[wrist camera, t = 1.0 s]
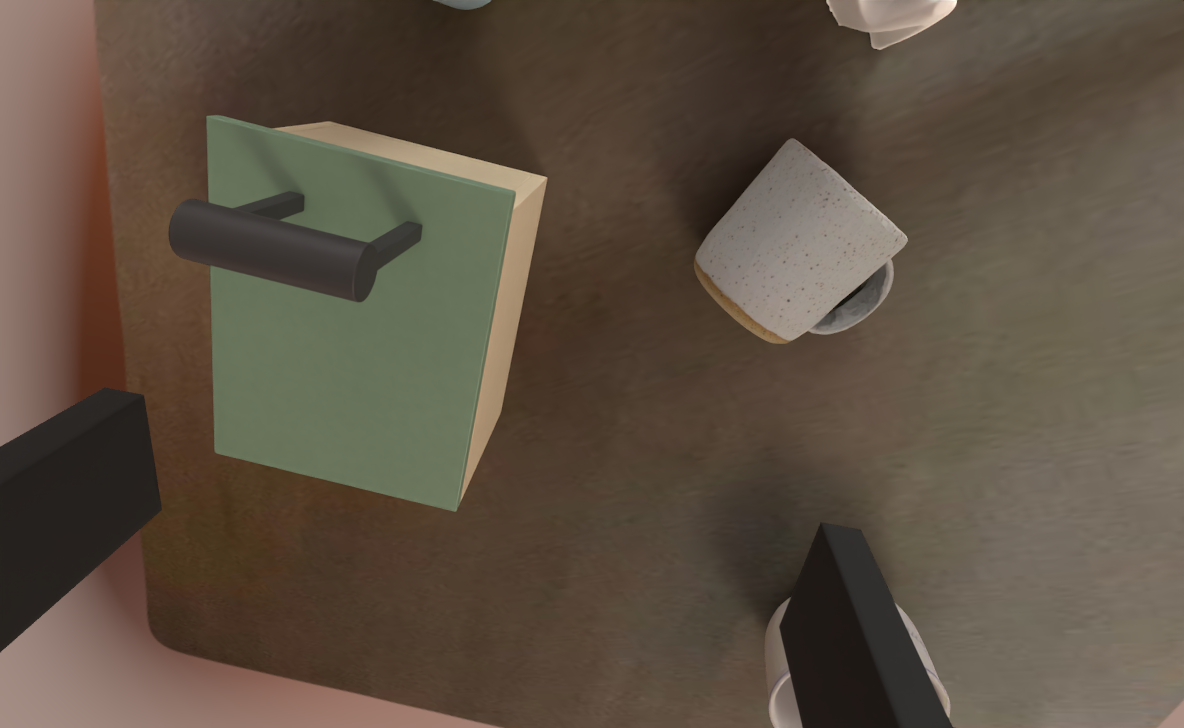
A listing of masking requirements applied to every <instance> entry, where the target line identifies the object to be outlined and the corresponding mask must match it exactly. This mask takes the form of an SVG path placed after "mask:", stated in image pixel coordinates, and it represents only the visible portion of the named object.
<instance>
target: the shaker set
mask: <svg viewBox="0 0 1184 728" xmlns="http://www.w3.org/2000/svg"><path fill="white" fill-rule="evenodd" d="M826 3H827V4H828V5H829V6H830V8H829V9H830V11H831V12H833V15H834V17H835V18H836V20H837V22H839V24H838V25H839V26H846V27H849V28H853V29H856V30H860V31H864V32H869V34H870V38H871V46H872V47H873V48H874V49H879V50H881V49H883V48H886V47H888V46H890V45H892V44H895V43H897V42H900V41H902V40H904V39H907V38H909V37H911V36H913V35H915V34H917V33H919V32H921V31H923V30H924V29H926V28H928V27H930V26H931V25H933V24H935V23H936V22H938V21H939V20H941V19H942V18H944V17H945V16H947V15H948V14H949V13H950V12H951V11H952V10H953V9H954V8H955V6H956V3H957V0H826Z"/></svg>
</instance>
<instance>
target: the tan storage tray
mask: <svg viewBox="0 0 1184 728" xmlns="http://www.w3.org/2000/svg"><path fill="white" fill-rule="evenodd" d="M273 129H275V130H279V131H283V132H287V133H291V134H295V135H299V136H303V137H307V138H310V139H314V140H318V141H322V142H326V143H330V144H334V145H338V146H342V147H346V148H350V149H353V150H357V151H361V152H365V153H369V154H373V155H377V156H381V157H385V158H389V159H392V160H396V161H400V162H404V163H408V164H412V165H416V166H420V167H424V168H428V169H432V170H435V171H439V172H443V173H447V174H451V175H455V176H459V177H463V178H467V179H471V180H475V181H478V182H482V183H486V184H490V185H494V186H498V187H502V188H506V189H510V190H514V191H516V196H515V201H514V207H513V213H512V218H511V224H510V229H509V235H508V240H507V246H506V251H505V257H504V262H503V268H502V273H501V279H500V285H499V290H498V296H497V301H496V307H495V312H494V318H493V323H492V329H491V334H490V340H489V346H488V351H487V357H486V362H485V368H484V373H483V379H482V384H481V390H480V395H479V401H478V406H477V412H476V418H475V423H474V429H473V434H472V440H471V445H470V451H469V456H468V462H467V467H466V473H465V479H464V484H463V490H462V495H461V500H462V498H463V495H464V493H465V491H466V489H467V487H468V484H469V482H470V480H471V478H472V475H473V473H474V471H475V469H476V467H477V464H478V462H479V460H480V458H481V455H482V453H483V451H484V449H485V447H486V444H487V442H488V440H489V438H490V435H491V433H492V431H493V429H494V426H495V424H496V422H497V420H498V417H499V415H500V413H501V409H502V404H503V399H504V394H505V389H506V384H507V379H508V374H509V369H510V364H511V359H512V354H513V349H514V344H515V339H516V334H517V329H518V324H519V319H520V314H521V309H522V304H523V299H524V294H525V289H526V284H527V279H528V274H529V269H530V264H531V259H532V254H533V249H534V243H535V238H536V233H537V228H538V223H539V218H540V213H541V208H542V203H543V198H544V193H545V188H546V183H547V177H544V176H540V175H536V174H532V173H528V172H525V171H521V170H517V169H513V168H509V167H505V166H501V165H497V164H493V163H489V162H486V161H482V160H478V159H474V158H470V157H466V156H462V155H458V154H454V153H451V152H447V151H443V150H439V149H435V148H431V147H427V146H423V145H419V144H415V143H412V142H408V141H404V140H400V139H396V138H392V137H388V136H384V135H380V134H376V133H373V132H369V131H365V130H361V129H357V128H353V127H349V126H345V125H341V124H338V123H334V122H330V121H327V122H321V123H313V124H305V125H297V126H289V127H281V128H273ZM460 502H461V501H460Z"/></svg>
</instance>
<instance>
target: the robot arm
mask: <svg viewBox="0 0 1184 728" xmlns="http://www.w3.org/2000/svg"><path fill="white" fill-rule="evenodd" d="M161 510H162V508H161V501H160V495H159V489H158V482H157V476H156V469H155V463H154V457H153V450H152V444H151V437H150V431H149V425H148V418H147V412H146V406H145V399H144V395H141V394H136V393H131V392H125V391H120V390H114V389H109V388H103V389H102V390H100V391H98V392H97V393H95V394H93V395H91V396H89V397H87V398H86V399H84V400H83V401H80V402H78V403H77V404H75V405H73V406H71V407H70V408H68V409H66V410H64V411H63V412H61V413H59V414H57V415H56V416H54V417H52V418H50V419H49V420H47V421H45V422H43V423H41V424H40V425H38V426H36V427H34V428H33V429H31V430H29V431H27V432H26V433H24V434H22V435H20V436H19V437H17V438H15V439H13V440H11V441H10V442H8V443H6V444H4V445H3V446H1V447H0V652H1V651H2V650H3V649H4V648H6V647H7V646H8V645H9V644H10V643H11V642H12V641H14V640H15V639H16V638H17V637H18V636H19V635H20V634H22V633H23V632H24V631H25V630H26V629H27V628H28V627H29V626H31V625H32V624H33V623H34V622H35V621H36V620H37V619H39V618H40V617H41V616H42V615H43V614H44V613H45V612H46V611H48V610H49V609H50V608H51V607H52V606H53V605H54V604H55V603H56V602H58V601H59V600H60V599H61V598H62V597H63V596H65V595H66V594H67V593H68V592H69V591H70V590H71V589H72V588H74V587H75V586H76V585H77V584H78V583H79V582H80V581H82V580H83V579H84V578H85V577H86V576H87V575H88V574H90V573H91V572H92V571H93V570H94V569H95V568H96V567H97V566H98V565H100V564H101V563H102V562H103V561H104V560H105V559H107V558H108V557H109V556H110V555H111V554H112V553H113V552H114V551H116V550H117V549H118V548H119V547H120V546H121V545H122V544H124V543H125V542H126V541H127V540H128V539H129V538H130V537H131V536H133V535H134V534H135V533H136V532H137V531H138V530H139V529H140V528H142V527H143V526H144V525H145V524H146V523H147V522H148V521H150V520H151V519H152V518H153V517H154V516H155V515H156V514H157V513H159V512H160V511H161ZM779 629H780V633H781V637H782V642H783V646H784V650H785V655H786V659H787V663H788V667H789V672H790V676H791V680H792V684H793V689H794V693H795V697H796V702H797V706H798V710H799V714H800V719H801V723H802V727H803V728H954V727H952V725H951V723H950V721H949V718H948V716H947V714H946V712H945V710H944V708H943V706H942V703H941V701H940V699H939V697H938V695H937V693H936V690H935V688H934V686H933V684H932V682H931V680H930V678H929V675H928V673H927V671H926V669H925V667H924V665H923V663H922V660H921V658H920V656H919V654H918V652H917V650H916V647H915V645H914V643H913V641H912V639H911V637H910V635H909V632H908V630H907V628H906V626H905V624H904V622H903V620H902V617H901V615H900V613H899V611H898V609H897V607H896V604H895V602H894V600H893V598H892V596H891V594H890V592H889V589H888V587H887V585H886V583H885V581H884V579H883V577H882V574H881V572H880V570H879V568H878V566H877V564H876V562H875V559H874V557H873V555H872V553H871V551H870V549H869V546H868V544H867V542H866V540H865V538H864V536H863V534H862V531H861V530H859V529H854V528H848V527H843V526H838V525H832V524H827V523H822V522H821V523H820V526H819V528H818V531H817V533H816V536H815V538H814V541H813V543H812V546H811V548H810V551H809V553H808V556H807V558H806V561H805V563H804V566H803V568H802V571H801V573H800V576H799V578H798V581H797V583H796V586H795V588H794V591H793V593H792V595H791V598H790V600H789V603H788V605H787V608H786V610H785V613H784V615H783V618H782V620H781V623H780V625H779Z"/></svg>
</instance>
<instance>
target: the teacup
mask: <svg viewBox="0 0 1184 728" xmlns="http://www.w3.org/2000/svg"><path fill="white" fill-rule="evenodd" d="M790 598H791V597H790ZM790 598H789V599H787V600H786V601H785V602H784V603H782V604H781V605H780V606H779V607H778V609H777V610H776V611H775V613H774V614H773V616H772V617H771V619H770V622H769V624H768V627H767V630H766V634H765V646H764V652H765V667H766V678H767V686H768V694H769V700H768V708H769V716H770V719H771V722H772V724H773V726H774V728H803V727H802V723H801V719H800V714H799V710H798V706H797V702H796V697H795V693H794V689H793V684H792V680H791V676H790V672H789V667H788V663H787V659H786V655H785V650H784V646H783V642H782V637H781V633H780V629H779V625H780V623H781V620H782V618H783V615H784V613H785V610H786V608H787V605H788V603H789V600H790ZM895 604H896V603H895ZM896 607H897V609H898V611H899V613H900V615H901V617H902V620H903V622H904V624H905V626H906V628H907V630H908V632H909V635H910V637H911V639H912V641H913V643H914V645H915V647H916V650H917V652H918V654H919V656H920V658H921V660H922V663H923V665H924V667H925V669H926V671H927V673H928V675H929V678H930V680H931V682H932V684H933V686H934V688H935V690H936V693H937V695H938V697H939V699H940V701H941V703H942V706H943V708H944V710H945V712H946V714H947V716H948V718H949V716H950V701H949V697H948V694H947V692H946V689H945V687H944V686H943V684H942V683H941V681H940V680H939V678H938V676H937V673H936V671H935V668H934V666H933V664H932V661H931V659H930V657H929V654H928V652H927V650H926V648H925V645H924V643H923V641H922V639H921V637H920V635H919V633H918V631H917V630H916V628H915V626H914V624H913V623H912V621H911V620H910V619H909V617H908V616H907V615H906V613H905V612H904V611H903V610H902V609H901V608H900V607H899V606H898V605H897V604H896Z"/></svg>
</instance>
